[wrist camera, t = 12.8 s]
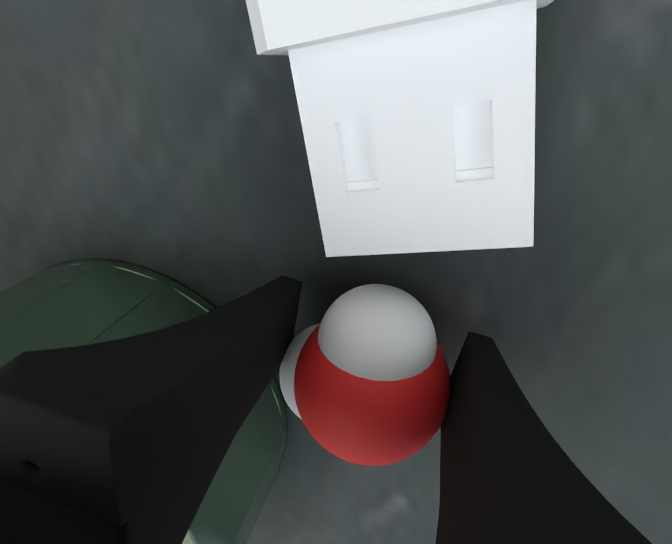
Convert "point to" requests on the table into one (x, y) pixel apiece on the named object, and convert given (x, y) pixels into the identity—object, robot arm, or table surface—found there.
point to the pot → (133, 319)
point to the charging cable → (413, 118)
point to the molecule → (369, 377)
